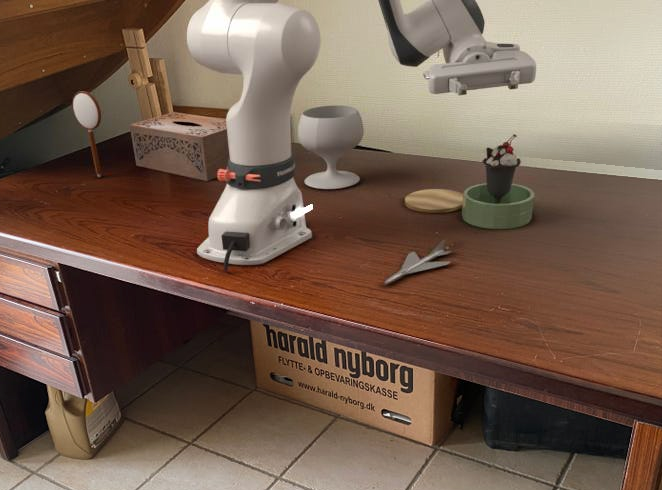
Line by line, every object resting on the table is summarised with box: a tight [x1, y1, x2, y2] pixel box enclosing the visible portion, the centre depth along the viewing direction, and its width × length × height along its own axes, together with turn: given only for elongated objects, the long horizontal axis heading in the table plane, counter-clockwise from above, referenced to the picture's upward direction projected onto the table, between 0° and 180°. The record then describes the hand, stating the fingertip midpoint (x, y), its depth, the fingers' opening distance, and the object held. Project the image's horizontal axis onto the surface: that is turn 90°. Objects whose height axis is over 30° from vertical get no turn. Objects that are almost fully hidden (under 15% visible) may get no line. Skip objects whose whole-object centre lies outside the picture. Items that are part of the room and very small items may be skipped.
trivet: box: [404, 188, 463, 214], centre depth 143 cm, size 12×12×1 cm
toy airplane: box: [383, 238, 453, 286], centre depth 118 cm, size 8×21×2 cm, turn 135°
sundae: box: [481, 133, 522, 204], centre depth 130 cm, size 7×7×15 cm
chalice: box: [297, 104, 365, 190], centre depth 155 cm, size 14×14×15 cm
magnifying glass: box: [71, 90, 102, 178], centre depth 170 cm, size 9×2×20 cm, turn 57°
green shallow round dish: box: [461, 182, 535, 230], centre depth 133 cm, size 12×13×4 cm
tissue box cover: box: [129, 111, 230, 182], centre depth 175 cm, size 26×14×10 cm, turn 48°
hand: (488, 88), depth 135 cm, fingers open, 8 cm apart
